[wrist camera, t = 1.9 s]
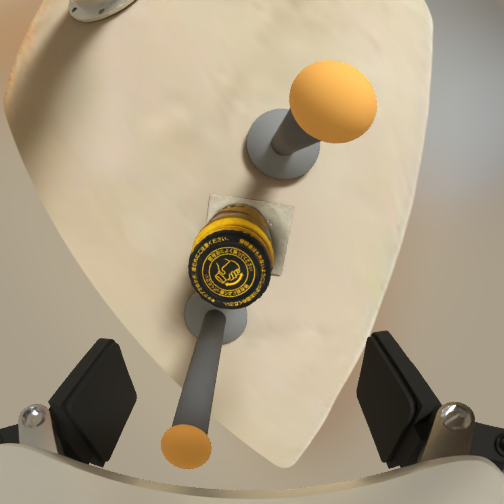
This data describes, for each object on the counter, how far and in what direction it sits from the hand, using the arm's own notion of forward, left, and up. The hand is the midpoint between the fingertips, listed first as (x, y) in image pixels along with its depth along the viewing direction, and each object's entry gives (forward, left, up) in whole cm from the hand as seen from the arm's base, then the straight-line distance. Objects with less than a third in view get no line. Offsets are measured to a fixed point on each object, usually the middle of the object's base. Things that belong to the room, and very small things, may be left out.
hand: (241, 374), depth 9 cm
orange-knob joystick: (+9, -4, -20) cm, 22 cm away
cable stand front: (-9, +4, -20) cm, 23 cm away
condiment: (0, 0, -20) cm, 20 cm away
